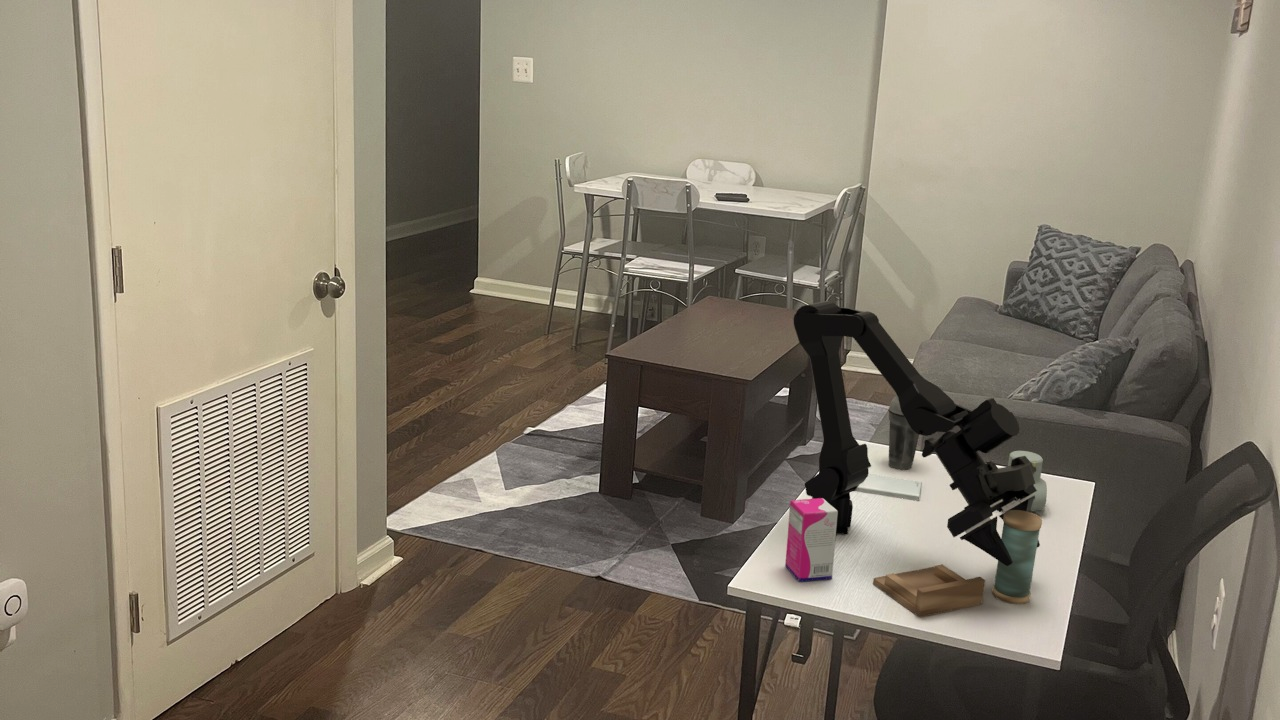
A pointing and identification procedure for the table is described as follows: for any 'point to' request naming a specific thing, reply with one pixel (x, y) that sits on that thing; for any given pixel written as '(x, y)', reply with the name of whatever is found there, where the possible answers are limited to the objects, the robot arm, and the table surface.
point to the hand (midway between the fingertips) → (1023, 555)
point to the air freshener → (1039, 483)
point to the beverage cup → (900, 439)
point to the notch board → (932, 590)
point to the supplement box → (811, 539)
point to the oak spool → (1017, 556)
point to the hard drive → (891, 487)
